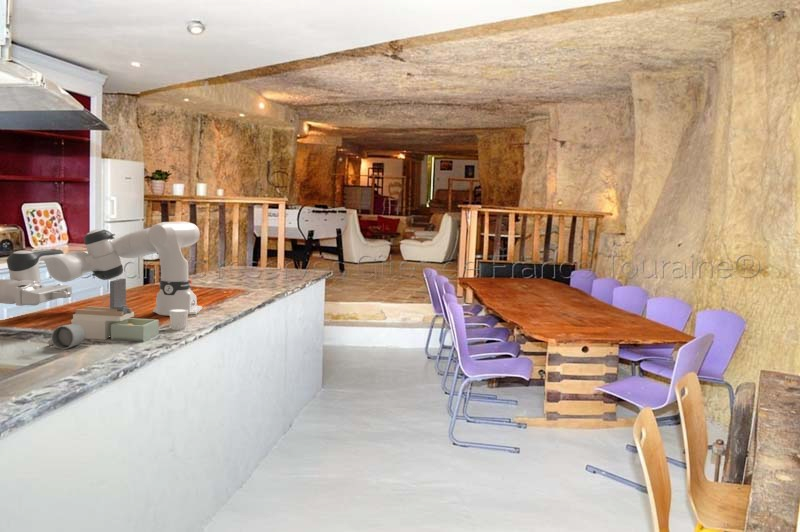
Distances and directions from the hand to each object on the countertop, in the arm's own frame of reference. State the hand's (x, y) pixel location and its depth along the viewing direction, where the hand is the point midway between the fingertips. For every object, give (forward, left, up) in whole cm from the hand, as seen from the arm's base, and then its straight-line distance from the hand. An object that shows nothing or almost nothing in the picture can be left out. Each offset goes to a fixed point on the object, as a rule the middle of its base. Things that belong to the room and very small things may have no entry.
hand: (68, 295), depth 229 cm
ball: (0, +22, -11) cm, 25 cm away
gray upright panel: (0, +20, -6) cm, 21 cm away
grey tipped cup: (+18, +10, -14) cm, 25 cm away
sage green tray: (0, +25, -14) cm, 28 cm away
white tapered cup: (-18, +33, -14) cm, 40 cm away
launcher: (0, +13, -14) cm, 19 cm away
